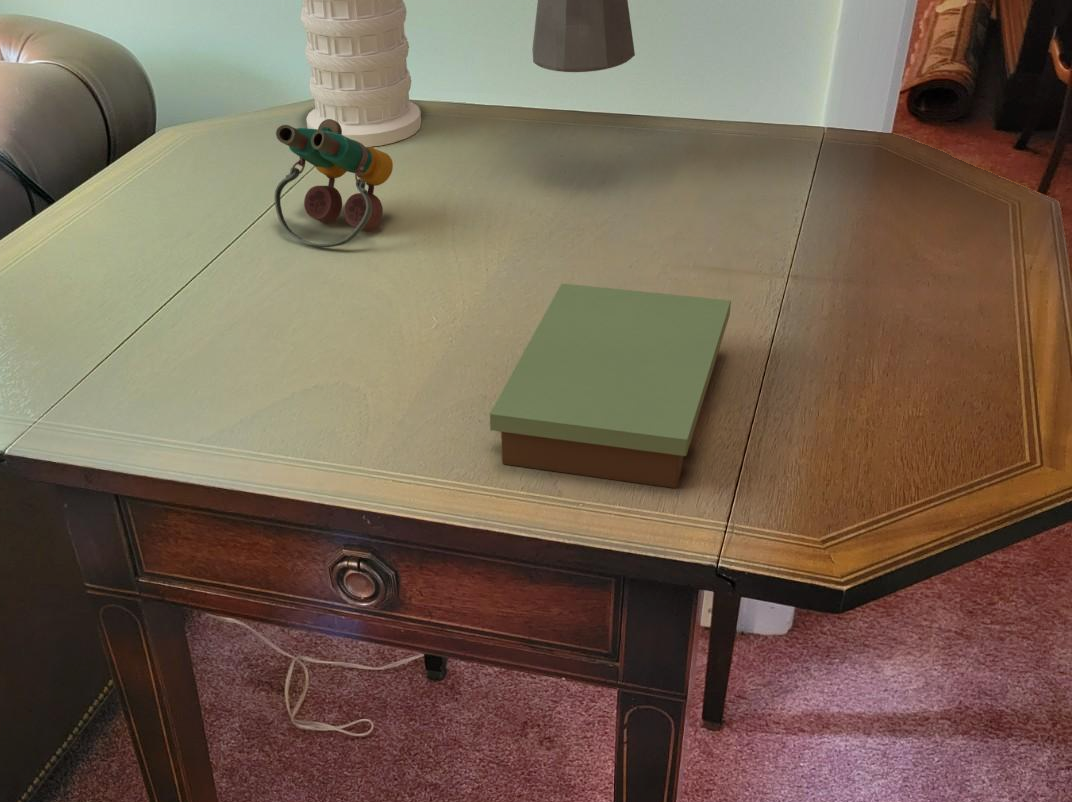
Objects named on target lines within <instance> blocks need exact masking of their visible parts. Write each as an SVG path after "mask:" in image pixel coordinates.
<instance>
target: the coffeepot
mask: <svg viewBox="0 0 1072 802" xmlns="http://www.w3.org/2000/svg"><path fill="white" fill-rule="evenodd" d="M534 22H535V23H534V32H533V41H532V61H533V64H535V65H536V66H538V67H539V68H542V69H545V70H548V71H553V72H562V73H588V72H589V73H590V72H597V71H603V70H608V69H613V68H616V67H619V66H622V65H623V64H625V63H628V62H629V61H630V60H632V58H633V57H635V56H636V52H635V46H634V38H633V31H632V30H633V29H632V24H631V23H632V22H631V15H630V9H629V1H628V0H537V5H536V13H535V21H534Z"/></svg>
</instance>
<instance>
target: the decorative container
mask: <svg viewBox="0 0 1072 802" xmlns="http://www.w3.org/2000/svg"><path fill="white" fill-rule="evenodd" d="M407 12H408V11H407V7H406V3H405V1H404V0H302V8H301V14H300V21H301V23H302V25H303V28H304V30H305V32H306V40H307V42H306V44H305V50H304V51H305V52H304V54H305V57H306V59H307V62H308V65H309V67H310V74H311V76H310V78H309V91H310V93H311V96H312V98H313V99H314V100H313V101H314V107H315V108H313V109H312V110H310V112H309V113H308V114H307V116H306V128H310V129H318V127H319V125H320V124H321V123H322V122H323V121H324V120H327V119H332V120H334V121H336V122H338V123H339V124H340V126H341V129H342V135H343V136H345V137H347V138H349V139H352V140H355V141H358V142H360V143H362V144H363V145H364V146H365V147H371V148H374V147H382V146H386V145H389V144H395V143H397V142H400V141H404V140H406V139H408V138H410V137H411V136H414V135H415V134H416V133H417V132H419V130H420V129H421V126H422V114H421V113H422V112H421V109H420V107H419V105H417V104H415V103H414V102H412V101H410V90H411V87H412V77H411V74H410V71H409V69H408V64H407V58H408V56H409V49H410V45H409V41H408V37H407V36H406V34H405V33H406V32H405V23H406V19H407Z"/></svg>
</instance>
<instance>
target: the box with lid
mask: <svg viewBox="0 0 1072 802" xmlns="http://www.w3.org/2000/svg"><path fill="white" fill-rule="evenodd" d="M731 307H732V300H730V299H720V298H712V297H711V298H710V297H701V296H700V297H699V296H690V295H681V294H671V293H661V292H653V291H652V292H650V291H642V290H630V289H620V288H613V287H612V288H610V287H601V286H591V285H581V284H571V283H561V284H560V285H559V287H558V288H557V291H556V293H555V294H554V296H553V298H552V300H551V302H550V303H549V305H548V308H547V309H546V310H545V312H544V314H543V316H542V318H541V320H540V322H539V324H538V325H537V327H536V329H535V331H534V333H533V334H532V337H531V338H530V340H529V342H528V343H527V345H526V347H525V349H524V351H523V352H522V354H521V356H520V357H519V360H518V361H517V364H516V365H515V367H514V369H513V371H512V373H511V375H510V376H509V378H508V380H507V382H506V384H505V385H504V387H503V389H502V391H501V393H500V395H499V396H498V398H497V400H496V402H495V404H494V406H493V407H492V409H491V411H490V413H489V429H490V431H493V432H500V433H501V435H500V437H501V438H500V439H501V463H502V465H506V466H514V467H521V468H528V469H535V470H542V471H543V470H544V471H549V472H550V471H551V472H558V473H563V474H572V475H578V476H586V477H593V478H599V479H600V478H601V479H608V480H615V481H622V482H628V483H636V484H641V485H649V486H657V487H663V488H671V489H672V488H673V489H676V488H677V486H678V483H679V480H680V477H681V473H682V471H683V467H684V457H687V455H688V451H689V448H690V445H691V442H692V439H693V435H694V432H695V430H696V426H697V422H698V420H699V416H700V412H701V411H702V410H701V409H702V406H703V403H704V400H705V397H706V393H707V390H708V386H709V384H710V380H711V377H712V375H713V371H714V367H715V364H716V361H717V357H718V354H719V351H720V347H721V345H722V342H723V339H724V335H725V331H726V329H727V325H728V323H729V318H730V315H731V314H730V313H731Z"/></svg>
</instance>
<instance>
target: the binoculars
mask: <svg viewBox="0 0 1072 802" xmlns="http://www.w3.org/2000/svg"><path fill="white" fill-rule="evenodd" d="M275 137H276V139H277V140H278V141H279V142H280V143H281V144H283V145H286V146H288V148H289V150H290V152H292V153H293V154H295V155H296V156H298V157H299V159H298V161H296V162H295V163H294V164H293V165H292V167H291V168H290V170H289V173H288V174H286V175H285V178H283V179H282V180H281V181H279V183H278V184H277V185H276V188H275V190H274V197H273V198H274V206H275V211H276V215H277V218H278V221H279V222H280V225H281V227H282V228H283V229H284V231H286V233H288V234H289V235H290V236H291V237H293V238H295V239H296V240H298V241H300V242H302V243H304V244H308V245H310V246H313V247H319V248H332V247H333V248H334V247H337V246H338V247H339V246H343V245H346V244H347V243H349V242H351V241H353V239H355V238H356V237H357V236H358V235H359V234H360V233H361V232H371V231H373V230H375V229H376V228H377V227H378V226H379V225H380V223H381V221H382V218H383V214H384V207H383V203H382V202H381V200H380V198H379V197H378V196H377V195H375V194H374V191H375V187H377V186H380V185H382V184H385V182H387V181H388V179H389V178H390V177H391V175H392V172H393V169H394V164H393V159H392V157H391V156H390V155H389V154H388V153H386V152H383V151H381V150H380V149H377V148H374V147H365V146H364V145H363V144H362V143H360V142H358V141H355V140H352V139H349V138H347V137H345V136H343V135H342V129H341V126H340V124H339V123H338V122H336V121H334V120H332V119H327V120H324V121H323V122H322V123H321V124H320V125H319V127H318V129H310V128H307V127H297V128H296V127H293V126H291V125H290V124H282V125H280V126H278V127H277V128H276V131H275ZM306 162H308V163H309V164H311V165H312V166H313V167H315V168H316V170H317V171H318V172H319V173H321V174H323V175H324V176H326V178H327V179H328V184H327V185H314V186H312V187H310V188H309V189H308V190H307V192H306V194H305V196H304V200H303V203H304V204H303V208H304V210H305V213H307V215H308V216H309V217H311V218H312V219H314V220H316V221H318V222H320V223H323V224H331V223H332V222H333V223H334V222H335V221H336V220H337V219H338V218H339V216H340V214H341V212H342V209H343V214H344V218H345V221H346V222H347V223H348V224H349V225H351V226H352V227H354V228H355V229H353V231H351V233H349V234H348V235H347V236H346V237H344V238H341V239H340V240H338V241H334V242H333V241H332V242H326V243H316V242H310V241H308V240H305V239H304V238H302V237H300V236H299V235H297V234H296V233H295V232H293V231H292V230H291V229H290V228H289V226H288V224H287V222H286V220H285V218H284V217H285V216H284V214H283V210H282V205H281V203H282V202H281V196H282V192H283V189H284V188H285V187H286V186H287V185H288V184H289V183H291V182H293V181H294V180H296V179H297V178H298V177H299V176H300V174H302V173H303V172H304V170H305V167H306ZM296 166H300V167H301V169H299V168H297V167H296ZM347 172H348V173H351V174H354V178H355V179H354V180H355V186H356V189H357V190H358V193H357V192H356V193H354V194H352V195H350V196H349V197H348V198H347V200H346V201H345V203H344V208H343V199H342V195H341V193H340V191H339V190H338V189H337V188H336V187H335V182H336V179H338V178H341V177H342V176H344V175H345V174H346V173H347ZM366 186H368V187H367V190H366Z"/></svg>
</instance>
